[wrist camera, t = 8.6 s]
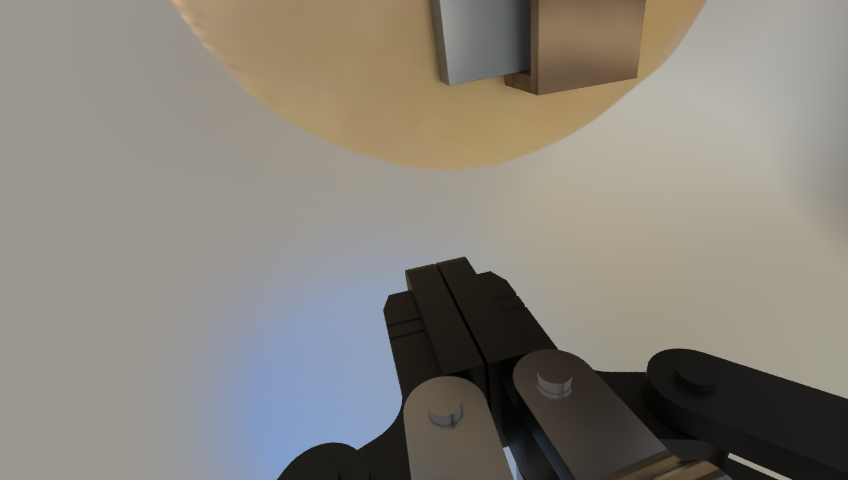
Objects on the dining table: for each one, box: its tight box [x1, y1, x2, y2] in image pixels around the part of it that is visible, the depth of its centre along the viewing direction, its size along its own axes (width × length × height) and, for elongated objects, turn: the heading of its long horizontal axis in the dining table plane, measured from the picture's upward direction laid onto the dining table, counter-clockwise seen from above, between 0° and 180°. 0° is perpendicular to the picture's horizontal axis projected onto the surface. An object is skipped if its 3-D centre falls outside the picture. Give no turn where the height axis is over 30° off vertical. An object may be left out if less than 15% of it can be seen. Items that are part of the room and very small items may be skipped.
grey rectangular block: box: [431, 0, 531, 86], centre depth 33 cm, size 6×12×3 cm, turn 98°
